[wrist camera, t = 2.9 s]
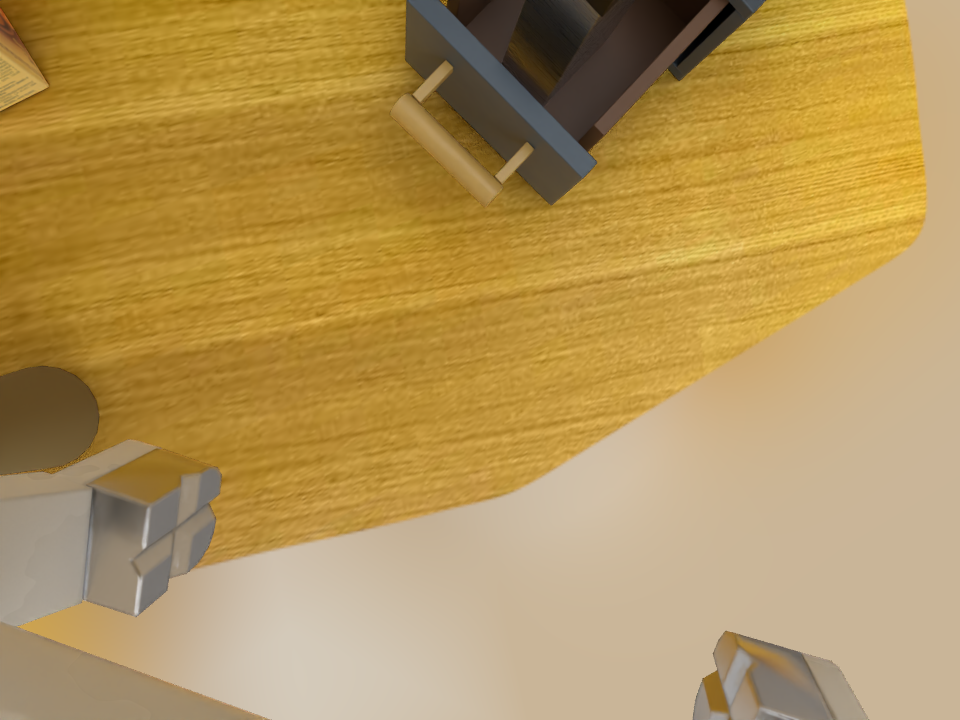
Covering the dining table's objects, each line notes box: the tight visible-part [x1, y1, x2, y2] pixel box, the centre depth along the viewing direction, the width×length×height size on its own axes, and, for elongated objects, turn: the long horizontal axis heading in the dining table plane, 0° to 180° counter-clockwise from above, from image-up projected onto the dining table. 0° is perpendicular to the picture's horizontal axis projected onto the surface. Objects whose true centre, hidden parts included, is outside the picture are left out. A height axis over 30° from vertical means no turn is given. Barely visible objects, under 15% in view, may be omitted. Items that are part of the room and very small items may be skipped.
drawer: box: [390, 0, 729, 207], centre depth 35 cm, size 19×12×7 cm, turn 137°
